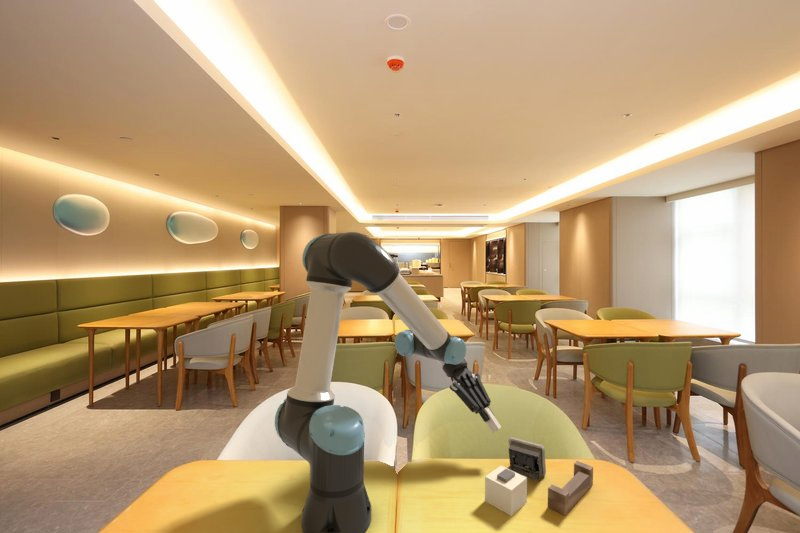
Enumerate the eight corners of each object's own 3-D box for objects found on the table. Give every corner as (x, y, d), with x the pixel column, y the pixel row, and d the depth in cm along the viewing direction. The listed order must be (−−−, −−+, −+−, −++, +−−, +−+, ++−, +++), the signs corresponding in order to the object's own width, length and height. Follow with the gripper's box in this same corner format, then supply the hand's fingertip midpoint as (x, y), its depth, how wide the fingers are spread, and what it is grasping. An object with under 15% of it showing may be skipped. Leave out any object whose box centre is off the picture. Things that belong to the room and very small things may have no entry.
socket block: (484, 501, 88) (485, 473, 88) (500, 489, 93) (501, 462, 92) (511, 516, 83) (511, 486, 83) (526, 502, 87) (527, 474, 87)
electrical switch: (546, 475, 99) (546, 442, 98) (542, 486, 94) (541, 452, 93) (511, 464, 104) (510, 433, 103) (505, 475, 99) (505, 442, 98)
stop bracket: (547, 506, 86) (548, 487, 86) (576, 477, 97) (577, 460, 97) (565, 515, 83) (565, 495, 83) (592, 484, 95) (593, 466, 94)
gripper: (444, 358, 111) (492, 432, 99) (470, 350, 119) (517, 417, 108) (431, 371, 115) (476, 444, 103) (457, 362, 124) (501, 428, 112)
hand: (497, 430), depth 105 cm, fingers closed
